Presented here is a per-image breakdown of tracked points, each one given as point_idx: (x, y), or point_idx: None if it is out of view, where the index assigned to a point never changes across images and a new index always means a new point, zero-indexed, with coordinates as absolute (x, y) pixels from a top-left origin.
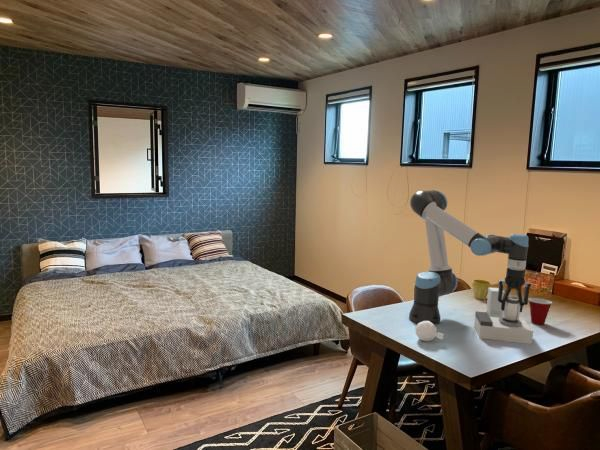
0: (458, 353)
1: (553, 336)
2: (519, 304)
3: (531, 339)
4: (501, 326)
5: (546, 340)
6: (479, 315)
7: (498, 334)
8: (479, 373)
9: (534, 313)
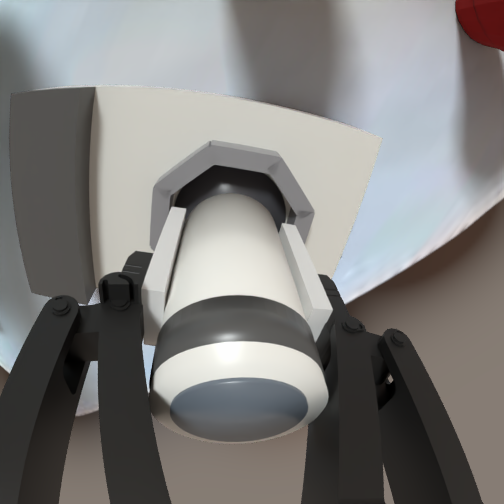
0: None
1: (452, 175)
2: (321, 337)
3: None
4: None
5: (395, 222)
6: (20, 191)
7: None
8: (84, 412)
9: (493, 21)
